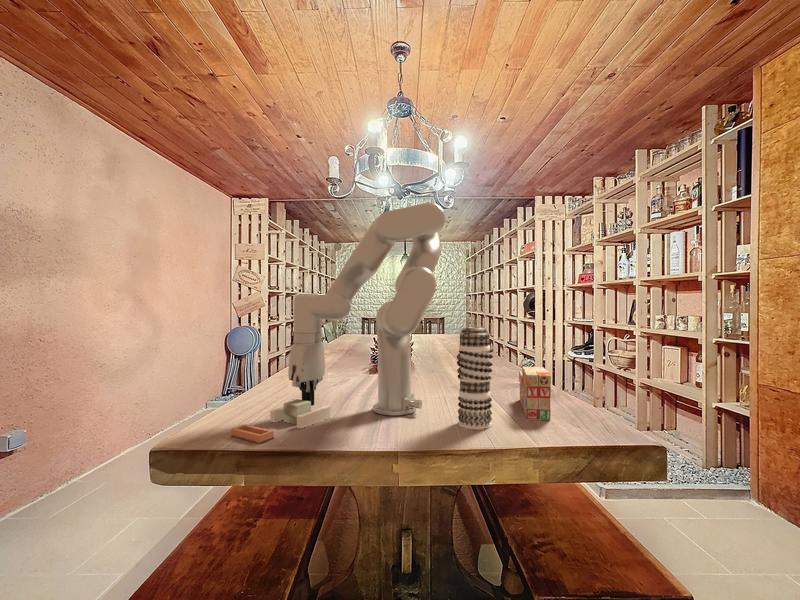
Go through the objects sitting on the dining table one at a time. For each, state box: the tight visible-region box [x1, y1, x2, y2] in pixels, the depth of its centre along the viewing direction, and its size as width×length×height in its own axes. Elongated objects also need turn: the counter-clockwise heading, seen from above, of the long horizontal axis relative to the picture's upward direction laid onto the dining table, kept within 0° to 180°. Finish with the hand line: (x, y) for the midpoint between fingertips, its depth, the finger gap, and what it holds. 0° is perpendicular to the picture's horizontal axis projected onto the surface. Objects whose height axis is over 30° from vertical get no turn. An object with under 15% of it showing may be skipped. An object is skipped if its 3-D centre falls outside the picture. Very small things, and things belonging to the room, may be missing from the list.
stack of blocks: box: [518, 366, 552, 421], centre depth 122 cm, size 21×6×12 cm, turn 169°
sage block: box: [283, 399, 312, 426], centre depth 112 cm, size 5×5×5 cm
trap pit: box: [230, 424, 275, 445], centre depth 99 cm, size 10×4×2 cm, turn 59°
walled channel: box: [269, 405, 331, 430], centre depth 113 cm, size 11×11×3 cm
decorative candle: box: [456, 326, 494, 430], centre depth 108 cm, size 9×9×25 cm
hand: (308, 405), depth 116 cm, fingers closed
